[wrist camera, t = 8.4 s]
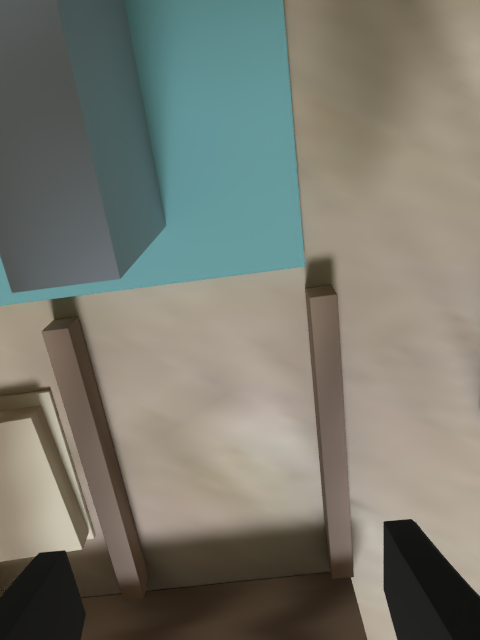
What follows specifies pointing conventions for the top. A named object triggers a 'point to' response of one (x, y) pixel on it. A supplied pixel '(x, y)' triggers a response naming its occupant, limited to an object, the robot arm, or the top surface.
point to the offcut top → (35, 490)
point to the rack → (229, 598)
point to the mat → (211, 144)
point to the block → (72, 145)
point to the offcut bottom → (58, 435)
